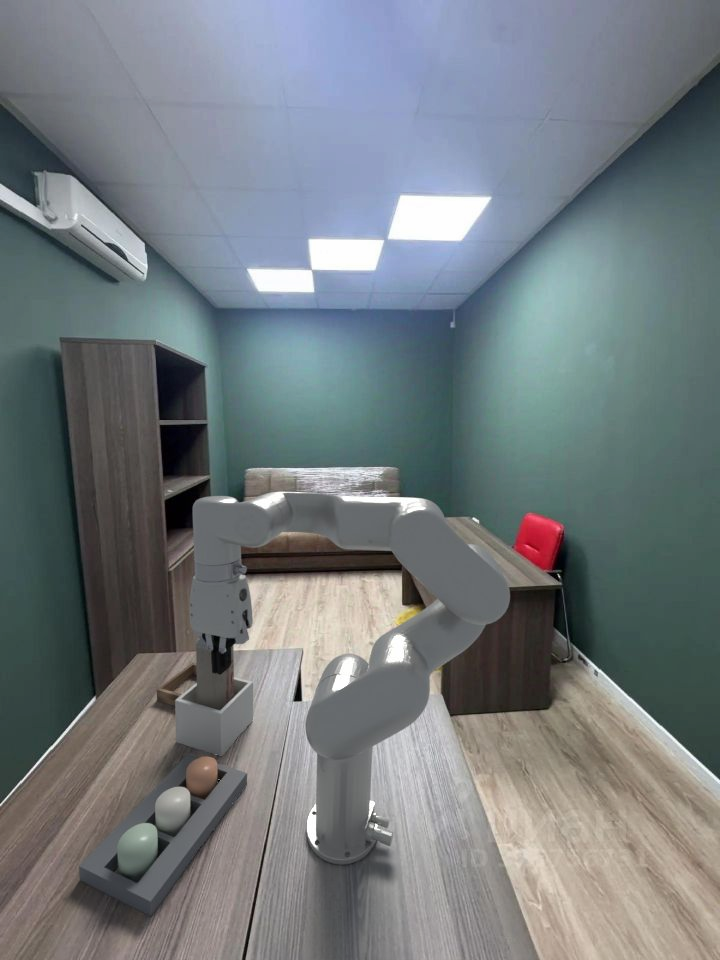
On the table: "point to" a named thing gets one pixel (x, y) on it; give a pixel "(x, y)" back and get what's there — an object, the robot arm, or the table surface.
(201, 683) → the thermos bottle
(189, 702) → the grey open box
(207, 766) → the terracotta egg
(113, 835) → the pebble holder tray
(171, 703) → the walnut deck tray
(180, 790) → the cream egg
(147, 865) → the sage egg
